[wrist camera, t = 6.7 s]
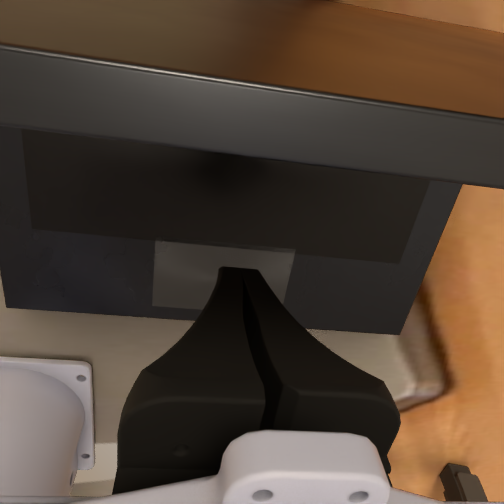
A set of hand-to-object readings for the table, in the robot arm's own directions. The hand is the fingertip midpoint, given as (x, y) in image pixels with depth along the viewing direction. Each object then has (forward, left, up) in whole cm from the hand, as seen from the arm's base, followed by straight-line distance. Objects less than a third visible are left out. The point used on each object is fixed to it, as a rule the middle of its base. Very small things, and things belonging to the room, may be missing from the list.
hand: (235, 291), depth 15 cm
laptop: (+1, 0, -7) cm, 7 cm away
